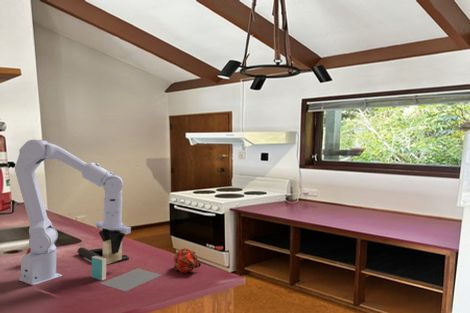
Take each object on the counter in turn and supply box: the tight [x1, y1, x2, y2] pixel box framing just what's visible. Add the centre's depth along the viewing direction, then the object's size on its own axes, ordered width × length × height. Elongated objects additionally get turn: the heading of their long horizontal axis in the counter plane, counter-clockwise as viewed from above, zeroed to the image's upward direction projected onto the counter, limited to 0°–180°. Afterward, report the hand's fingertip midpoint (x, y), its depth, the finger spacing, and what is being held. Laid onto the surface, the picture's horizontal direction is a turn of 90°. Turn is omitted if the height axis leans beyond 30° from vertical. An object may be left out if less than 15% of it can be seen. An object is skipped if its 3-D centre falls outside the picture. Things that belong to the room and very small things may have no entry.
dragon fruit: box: [173, 247, 202, 275], centre depth 123 cm, size 8×8×12 cm
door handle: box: [75, 247, 130, 266], centre depth 136 cm, size 3×20×16 cm
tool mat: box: [99, 268, 162, 293], centre depth 114 cm, size 16×11×1 cm
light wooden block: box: [102, 240, 123, 265], centre depth 119 cm, size 6×2×7 cm, turn 151°
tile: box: [91, 256, 107, 281], centre depth 114 cm, size 2×5×7 cm, turn 61°
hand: (112, 252), depth 119 cm, fingers closed on light wooden block, 2 cm apart
